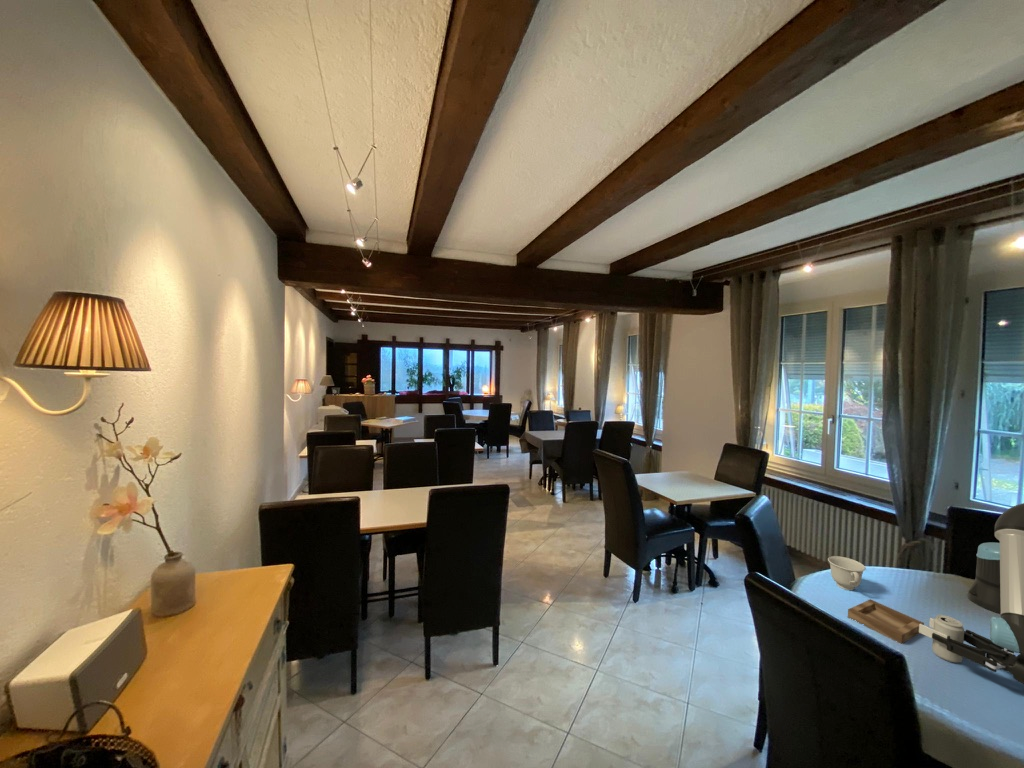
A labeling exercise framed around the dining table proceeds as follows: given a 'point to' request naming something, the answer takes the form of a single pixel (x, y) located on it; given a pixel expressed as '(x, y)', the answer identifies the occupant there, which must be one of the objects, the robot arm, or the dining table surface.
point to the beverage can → (951, 629)
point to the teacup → (846, 572)
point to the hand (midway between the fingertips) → (925, 625)
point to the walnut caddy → (885, 620)
